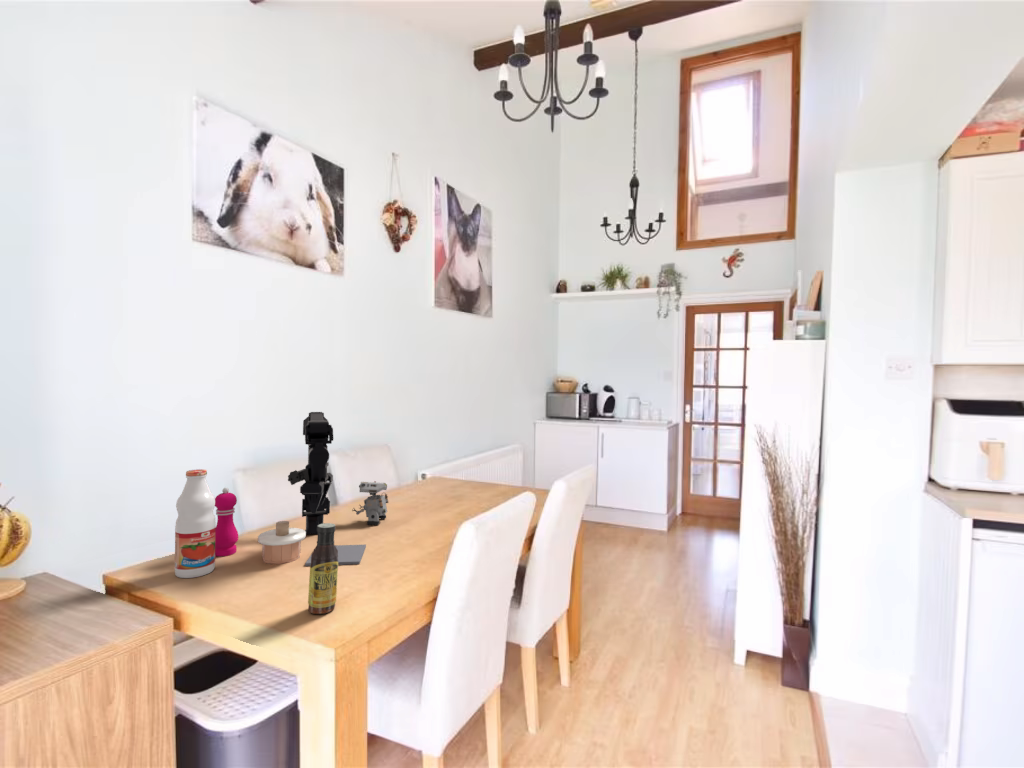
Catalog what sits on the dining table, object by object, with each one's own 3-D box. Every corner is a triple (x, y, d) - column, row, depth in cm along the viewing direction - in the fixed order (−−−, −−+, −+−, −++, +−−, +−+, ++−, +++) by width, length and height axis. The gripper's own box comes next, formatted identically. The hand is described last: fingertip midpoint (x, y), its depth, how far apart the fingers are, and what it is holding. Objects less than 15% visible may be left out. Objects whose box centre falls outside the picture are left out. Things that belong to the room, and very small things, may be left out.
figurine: (361, 517, 195) (361, 479, 195) (390, 519, 194) (390, 480, 194) (351, 524, 186) (352, 484, 186) (382, 526, 185) (383, 485, 185)
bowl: (268, 552, 155) (269, 533, 155) (303, 551, 157) (303, 532, 157) (257, 565, 145) (258, 544, 145) (295, 563, 147) (295, 543, 147)
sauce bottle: (311, 618, 114) (313, 530, 114) (304, 608, 119) (306, 524, 119) (341, 611, 118) (342, 526, 118) (333, 601, 123) (334, 520, 123)
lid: (266, 532, 157) (266, 517, 156) (310, 531, 159) (310, 516, 159) (251, 546, 144) (251, 529, 144) (299, 544, 146) (299, 528, 146)
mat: (316, 548, 160) (317, 545, 160) (365, 546, 162) (366, 544, 162) (305, 566, 145) (305, 563, 145) (359, 564, 148) (359, 561, 148)
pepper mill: (226, 558, 150) (227, 491, 150) (205, 556, 151) (206, 489, 151) (243, 550, 157) (244, 486, 157) (223, 548, 159) (224, 484, 158)
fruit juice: (204, 563, 146) (206, 466, 145) (221, 570, 140) (222, 470, 140) (168, 573, 138) (169, 471, 137) (184, 581, 133) (185, 475, 132)
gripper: (298, 456, 169) (297, 502, 169) (282, 466, 150) (281, 518, 151) (333, 456, 171) (332, 502, 171) (321, 465, 152) (320, 517, 152)
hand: (316, 509), depth 161 cm, fingers open, 9 cm apart
